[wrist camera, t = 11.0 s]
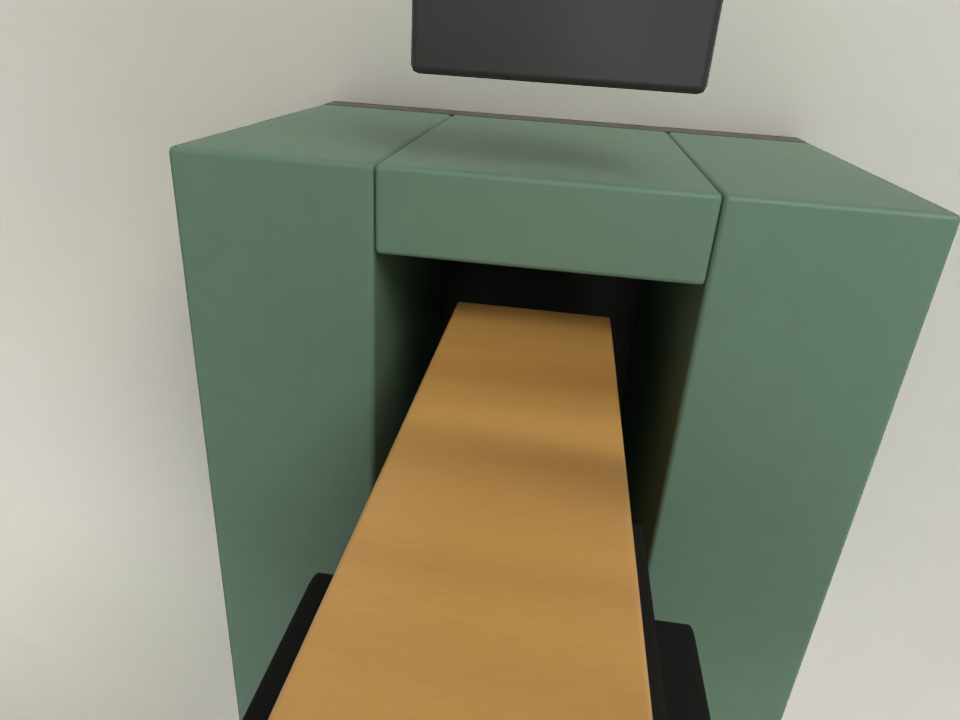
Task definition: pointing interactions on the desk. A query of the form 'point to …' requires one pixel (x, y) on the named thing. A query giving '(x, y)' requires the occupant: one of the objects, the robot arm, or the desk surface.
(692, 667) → the robot arm
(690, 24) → the dark grey slab
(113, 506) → the desk surface
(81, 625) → the desk surface
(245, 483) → the toaster
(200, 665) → the desk surface
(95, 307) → the desk surface
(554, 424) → the golden wooden block
